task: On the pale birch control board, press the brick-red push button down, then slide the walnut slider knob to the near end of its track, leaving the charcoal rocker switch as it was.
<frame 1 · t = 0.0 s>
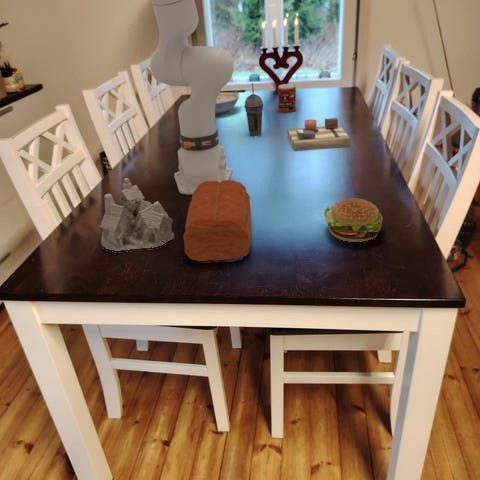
food: (351, 232, 114), on the table
canned food: (287, 111, 210), on the table
control board: (317, 141, 172), on the table
beverage cup: (255, 135, 183), on the table
ceramic cottage: (138, 240, 117), on the table
brick-red push button: (310, 124, 172), point 6 cm above the table, slide at 0.0 cm
ramen bowl: (216, 112, 216), on the table
walnut slider knob: (331, 123, 173), point 5 cm above the table, slide at 0.0 cm
bread: (220, 235, 117), on the table
charcoal rocker switch: (305, 133, 166), point 5 cm above the table, hinge at 8.0°
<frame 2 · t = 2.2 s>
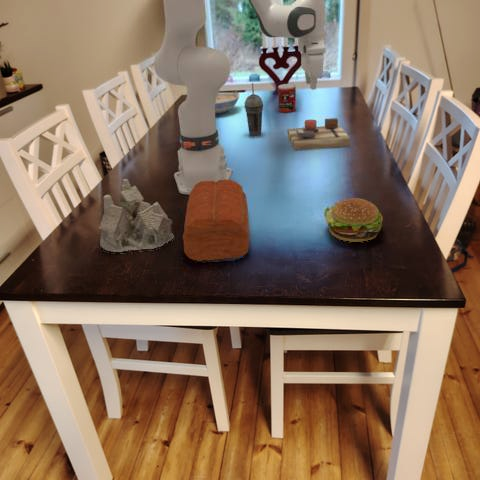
hand: (310, 86, 165), 19 cm above the table, tool pointing down, fingers open, 8 cm apart
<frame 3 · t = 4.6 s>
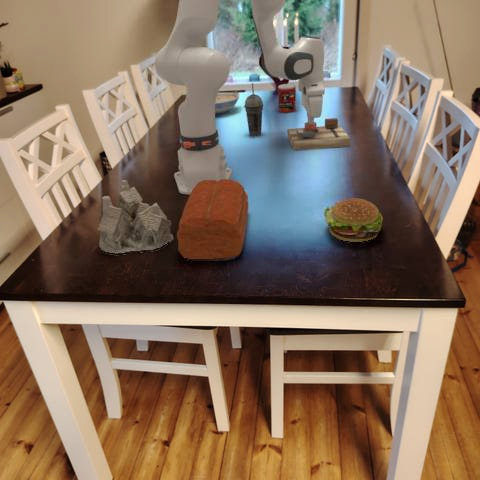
hand: (310, 123, 172), 6 cm above the table, tool pointing down, fingers closed, pressing on brick-red push button
brick-red push button: (310, 126, 173), point 5 cm above the table, slide at 0.9 cm, touching gripper
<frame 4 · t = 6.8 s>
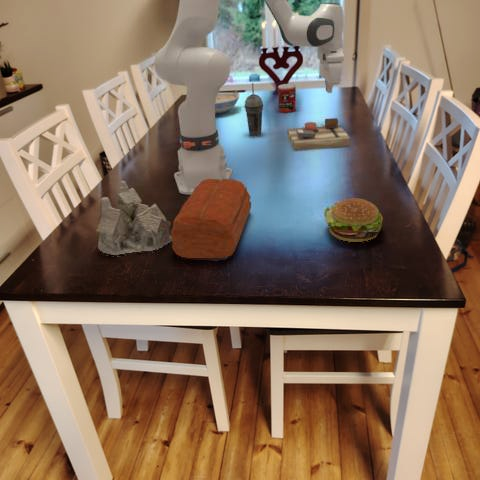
hand: (328, 92, 174), 15 cm above the table, tool pointing down, fingers closed
brick-red push button: (310, 127, 173), point 4 cm above the table, slide at 1.0 cm
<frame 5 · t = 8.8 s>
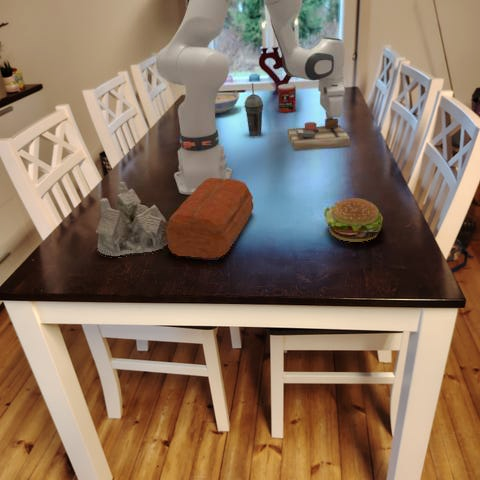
hand: (329, 122, 176), 4 cm above the table, tool pointing down, fingers closed
walnut slider knob: (331, 123, 173), point 5 cm above the table, slide at 0.3 cm, touching gripper
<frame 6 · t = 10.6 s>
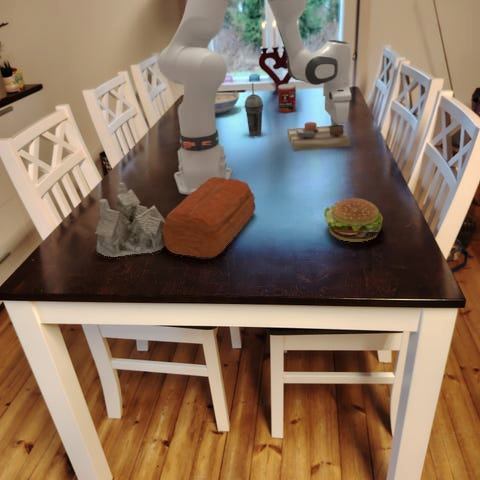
hand: (334, 129, 168), 5 cm above the table, tool pointing down, fingers closed
walnut slider knob: (336, 130, 166), point 5 cm above the table, slide at 8.5 cm, touching gripper
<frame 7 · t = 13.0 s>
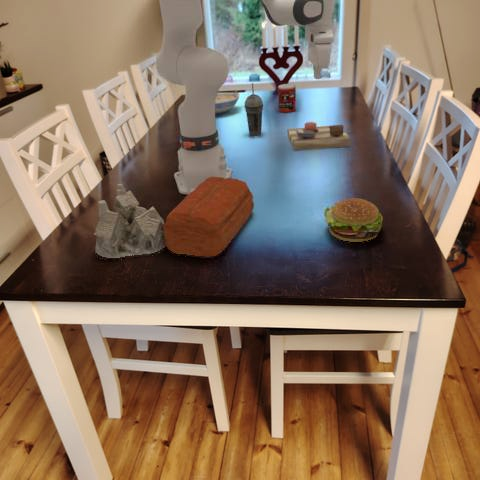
hand: (317, 78, 160), 23 cm above the table, tool pointing down, fingers closed
walnut slider knob: (336, 130, 166), point 5 cm above the table, slide at 8.5 cm
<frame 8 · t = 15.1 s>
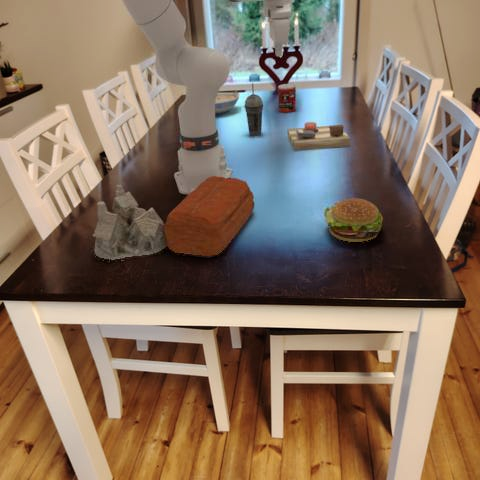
hand: (278, 55, 155), 31 cm above the table, tool pointing down, fingers closed
at the end: brick-red push button slide at 1.0 cm; walnut slider knob slide at 8.5 cm; charcoal rocker switch at +8° (first picture: +8°) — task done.
